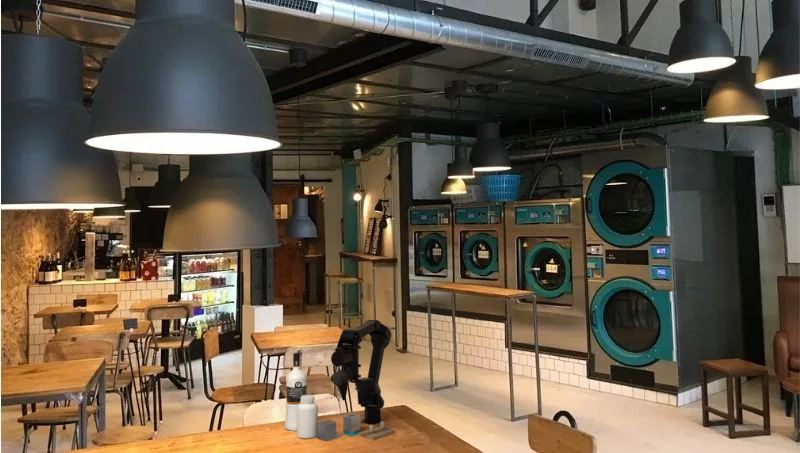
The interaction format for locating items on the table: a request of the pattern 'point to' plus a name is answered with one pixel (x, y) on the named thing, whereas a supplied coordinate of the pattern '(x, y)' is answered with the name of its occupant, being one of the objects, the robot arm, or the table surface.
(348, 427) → the sleeve
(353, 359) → the robot arm
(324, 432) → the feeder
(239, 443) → the table surface
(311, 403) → the pill bottle
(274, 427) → the table surface
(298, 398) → the vodka
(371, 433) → the pin board
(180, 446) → the table surface
